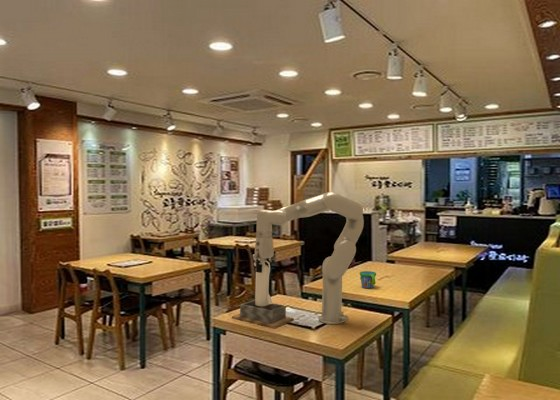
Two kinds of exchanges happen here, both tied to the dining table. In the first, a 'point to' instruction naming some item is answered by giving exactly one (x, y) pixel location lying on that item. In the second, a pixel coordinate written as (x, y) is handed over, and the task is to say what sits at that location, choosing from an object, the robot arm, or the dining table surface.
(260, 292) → the fire extinguisher
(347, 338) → the dining table surface
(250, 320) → the caddy
